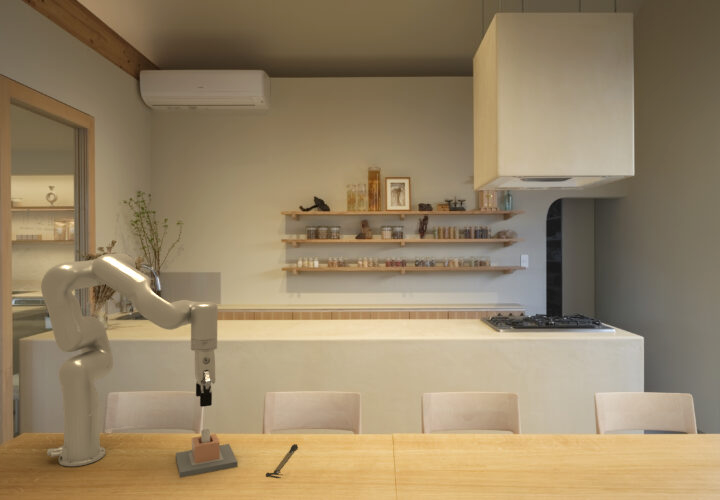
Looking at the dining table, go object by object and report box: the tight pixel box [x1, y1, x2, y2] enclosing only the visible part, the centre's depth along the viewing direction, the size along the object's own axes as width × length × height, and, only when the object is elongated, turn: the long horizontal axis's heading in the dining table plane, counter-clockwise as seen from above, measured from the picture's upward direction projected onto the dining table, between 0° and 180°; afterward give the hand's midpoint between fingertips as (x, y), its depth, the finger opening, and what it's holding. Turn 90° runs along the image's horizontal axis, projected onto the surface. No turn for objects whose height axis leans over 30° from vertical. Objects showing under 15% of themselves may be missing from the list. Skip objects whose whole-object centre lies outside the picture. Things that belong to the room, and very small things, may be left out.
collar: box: [191, 433, 220, 463], centre depth 153 cm, size 7×7×5 cm
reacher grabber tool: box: [265, 443, 298, 479], centre depth 153 cm, size 21×7×1 cm, turn 166°
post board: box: [175, 428, 239, 478], centre depth 153 cm, size 16×14×10 cm
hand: (203, 400), depth 152 cm, fingers open, 9 cm apart
